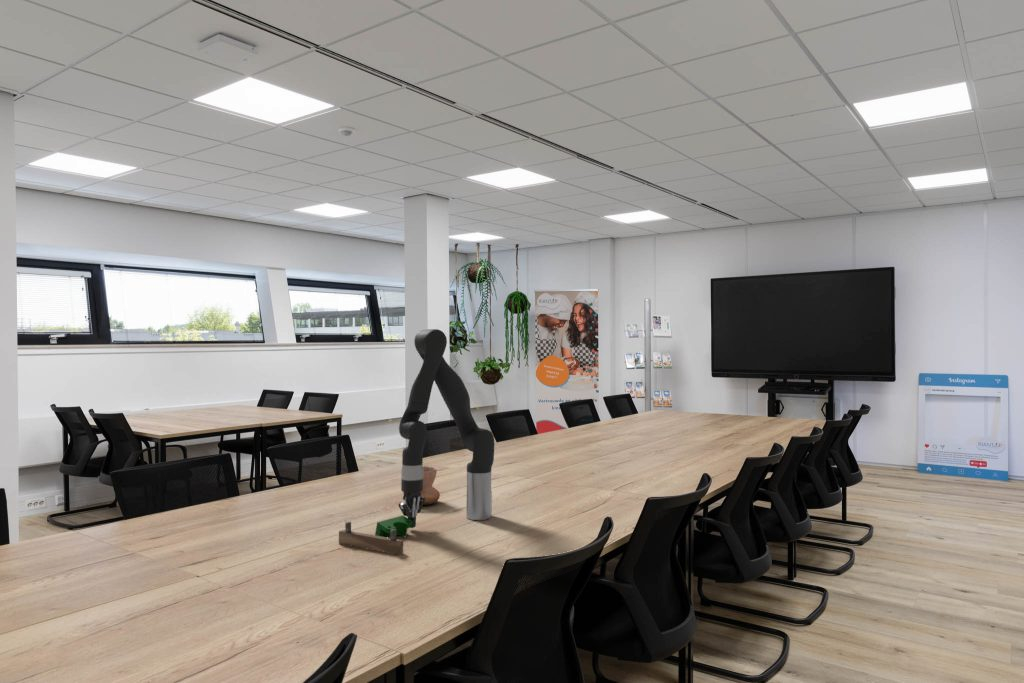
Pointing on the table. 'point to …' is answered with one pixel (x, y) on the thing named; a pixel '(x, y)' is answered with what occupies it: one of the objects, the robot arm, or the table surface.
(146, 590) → the table surface
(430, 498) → the ceramic jug
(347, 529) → the bar
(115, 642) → the table surface
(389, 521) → the clamp
